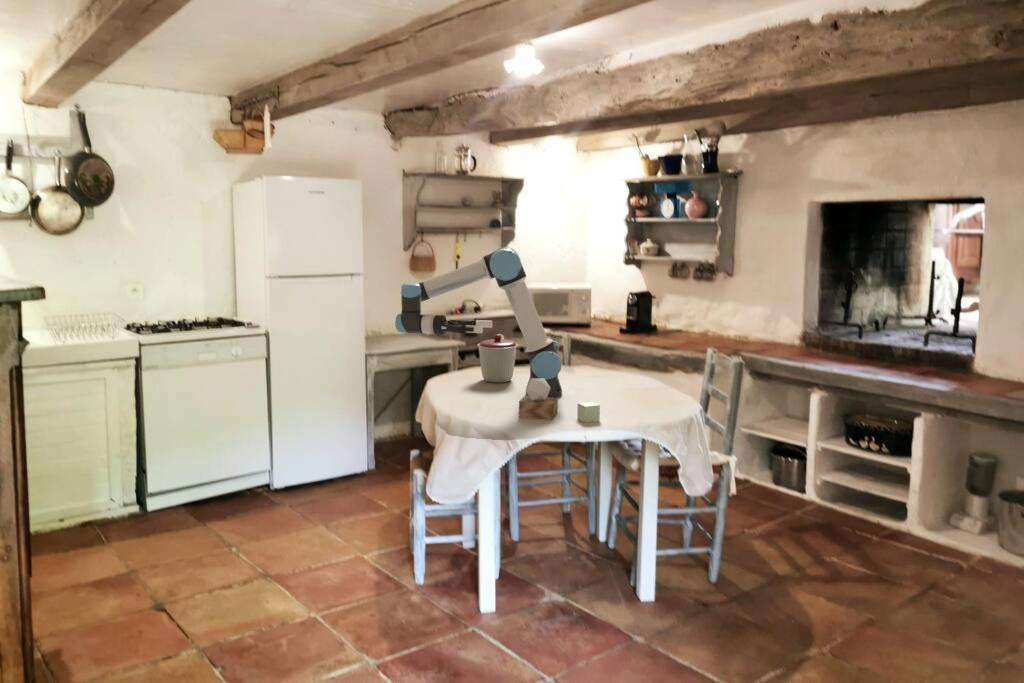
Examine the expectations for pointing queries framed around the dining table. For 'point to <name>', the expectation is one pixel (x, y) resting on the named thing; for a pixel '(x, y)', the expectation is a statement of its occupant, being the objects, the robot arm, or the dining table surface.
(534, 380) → the die
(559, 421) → the dining table surface
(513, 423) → the dining table surface
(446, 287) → the robot arm
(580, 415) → the green cube
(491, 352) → the canister
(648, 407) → the dining table surface
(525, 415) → the plinth
